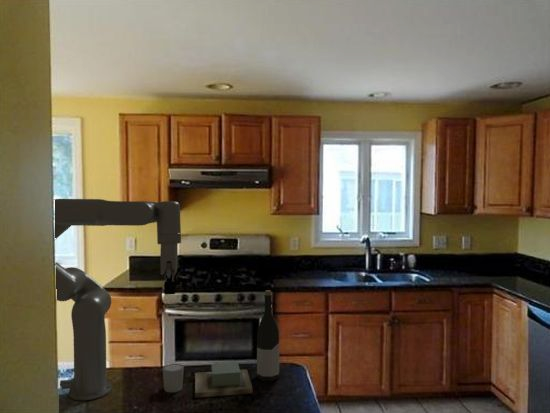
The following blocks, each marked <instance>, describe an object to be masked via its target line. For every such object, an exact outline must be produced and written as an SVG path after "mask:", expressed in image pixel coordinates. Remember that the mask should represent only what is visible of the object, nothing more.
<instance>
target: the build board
mask: <svg viewBox="0 0 550 413" xmlns="http://www.w3.org/2000/svg"><path fill="white" fill-rule="evenodd" d="M194 375H195V376H194V380H195V382H194V384H195V385H194V389H195V390H194V397H195V398H209V397H219V396H220V397H222V396H223V397H224V396H234V395H235V396H236V395H244V394H245V395H247V394H253V386H252V382H251V378H250V375H249V372H248V369H247V368H246V369H240V385H227V386H212V371H205V372H203V371H201V372H195V373H194Z"/></svg>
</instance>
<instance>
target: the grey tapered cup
mask: <svg viewBox="0 0 550 413" xmlns="http://www.w3.org/2000/svg"><path fill="white" fill-rule="evenodd" d="M184 370H185V365H183V364H180V363H171V364H167V365H164V366H162V376H163V379H162V380H163V388H164V391H165V392H166V393H177V392H180V391H181V390H182V389H183V385H184V384H183V381H184Z"/></svg>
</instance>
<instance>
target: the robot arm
mask: <svg viewBox="0 0 550 413" xmlns="http://www.w3.org/2000/svg"><path fill="white" fill-rule="evenodd" d="M54 200H55V238H56V239H55V240H57V239H58V238H59V237H60V236H61V235H63V234H64V233H65V232H66V231H67V230H69V229H70V227H71V226H75V227H76V226H77V227H78V226H87V227H89V226H92V227H94V226H97V227H98V226H99V227H100V226H101V227H105V226H137V227H138V226H146V225H149V224H154V223H156V236H157V237H156V239H157V245H160V250H159V252H160V275H162V276H164V295H175V294H176V288H177V276H176V274H177V272H178V258H179V257H178V256H179V255H178V254H179V253H178V245H179V244H181V243H182V232H181V231H182V229H181V227H182V226H181V205H180V203H179V202H178V201H175V200H174V201H173V200H170V201H168V200H166V201H159V202H158V201H157V202H156V201H155V202H154V201H148V200H147V201H146V200H141V201H140V200H139V201H132V200H131V201H129V200H127V201H123V200H107V199H101V198H54ZM56 289H57V300H56V301H58V302H67V301H70V300H71V301H72V302H74V304H73V305H72V309H71V312H70V313H71V324H72V332H73V336H72V337H73V378H71V379H63V380H60V381H59V387H61V390H65V389H66V390H67V389H69V390H68V397H69V398H70V399H72V400H75V401H90V400H91V401H92V400H95V399H99V398H101V397H104V396H106V395H107V394H109V393H110V392H111V391H112V383H110V382H109V381H107V331H106V323H105V322H106V321H105V316H106V314H107V312H108V311H109V310H110V309H111V307H112V306H111V305H112V297H111V295H110V293H109V292H108V291H107V290H106V289H105V288H104V286H102V285H100V284H99V282H97V281H96V280H95V279H94V278H93V277H91V276H90V275H89V274H87V273H86V272H85V271H83V270H82V269H80V268H77V267H64V266H62V265H61V264H59V263H58V261H56Z"/></svg>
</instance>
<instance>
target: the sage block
mask: <svg viewBox="0 0 550 413" xmlns="http://www.w3.org/2000/svg"><path fill="white" fill-rule="evenodd" d="M240 370H241V369H240V365H239V362H238V361H232V362H218V363H217V362H216V363H211V372H212V386H227V385H240Z"/></svg>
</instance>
